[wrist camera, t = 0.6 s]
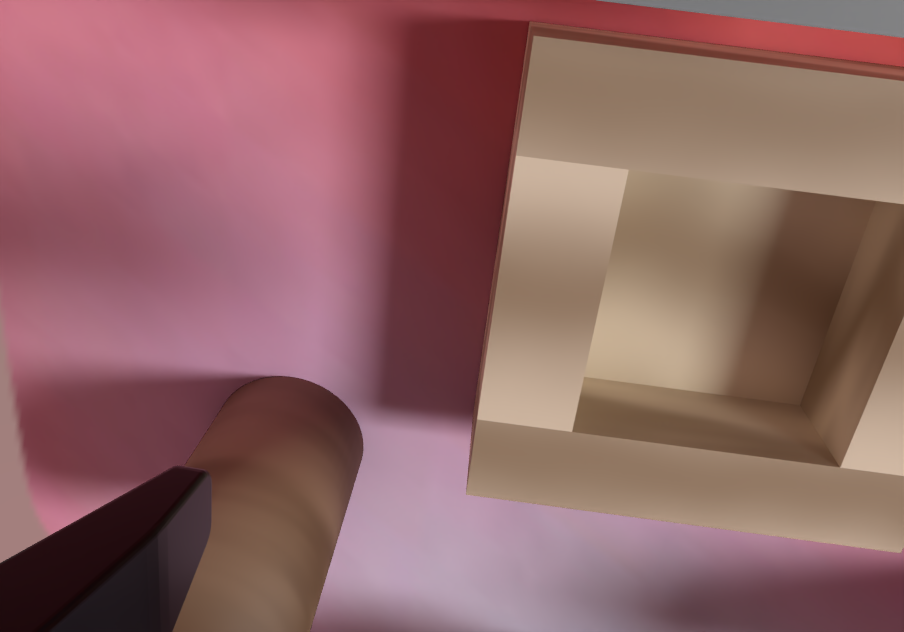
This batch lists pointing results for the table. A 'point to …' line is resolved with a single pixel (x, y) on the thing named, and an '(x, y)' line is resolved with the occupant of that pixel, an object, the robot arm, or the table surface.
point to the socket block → (699, 290)
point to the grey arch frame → (800, 12)
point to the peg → (272, 506)
